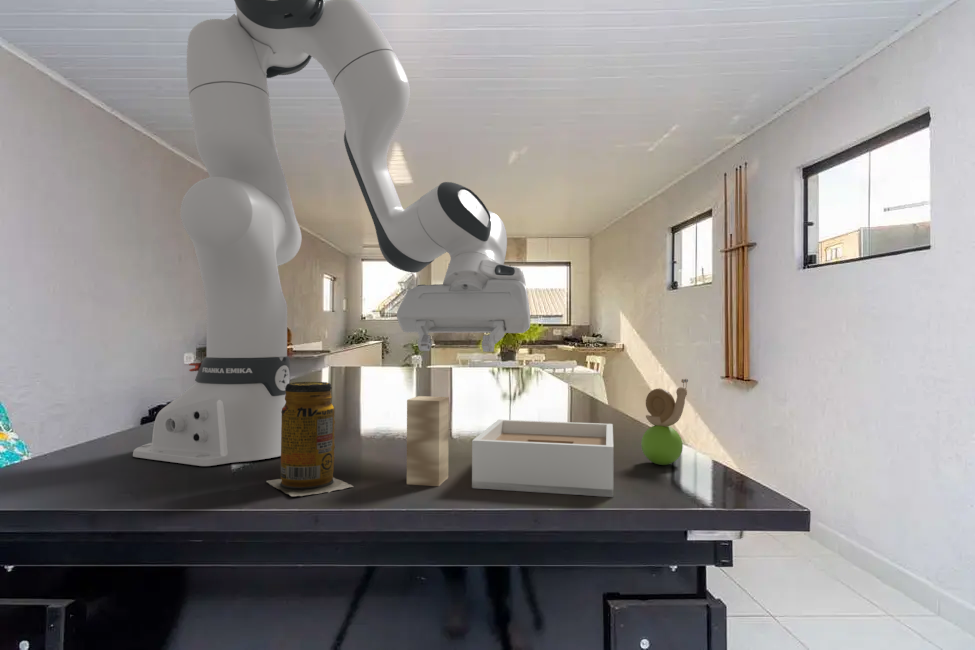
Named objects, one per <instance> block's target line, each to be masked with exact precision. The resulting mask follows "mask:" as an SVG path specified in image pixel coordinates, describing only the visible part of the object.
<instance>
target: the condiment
mask: <svg viewBox="0 0 975 650" xmlns="http://www.w3.org/2000/svg"><path fill="white" fill-rule="evenodd" d="M285 392H286V395H285V401H286V404H285V405H284V407H283V408H282V411H281V413H282V424H281V456H280V478H276V479H271V480H270V479H269V480H266V481H265V482H266V483H267V484H269V485H270V486H271V487H273V488H276V489H278V490H279V491H281V492H283V494H286V495H289V496H290V497H303V496H311V495H317V494H322V493H331V492H333V491H338V490H339V491H340V490H345V489H348V488H354V487H355V486H354V485H352V484H349V483H348V482H345V481H343V480H341V479H338V478H336V477H334V467H335V448H336V447H335V446H336V445H335V444H336V443H335V424H336V421H335V407H334V405H333V403H332V397H333V396H332V384H331V383H330V382H326V381H293V382H290V383H289V384H287V385H286V388H285Z"/></svg>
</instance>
